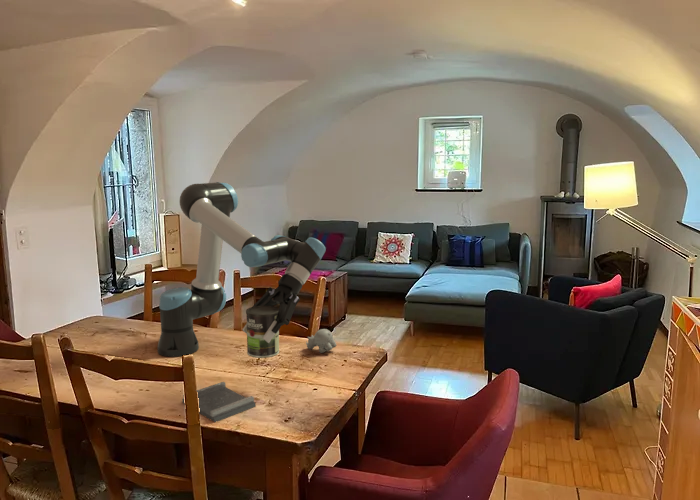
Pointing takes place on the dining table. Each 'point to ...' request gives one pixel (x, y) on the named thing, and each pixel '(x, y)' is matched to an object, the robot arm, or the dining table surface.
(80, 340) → the dining table surface
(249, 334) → the coffee can
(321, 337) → the round bodied animal figurine
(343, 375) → the dining table surface
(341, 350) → the dining table surface
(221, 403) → the plate
